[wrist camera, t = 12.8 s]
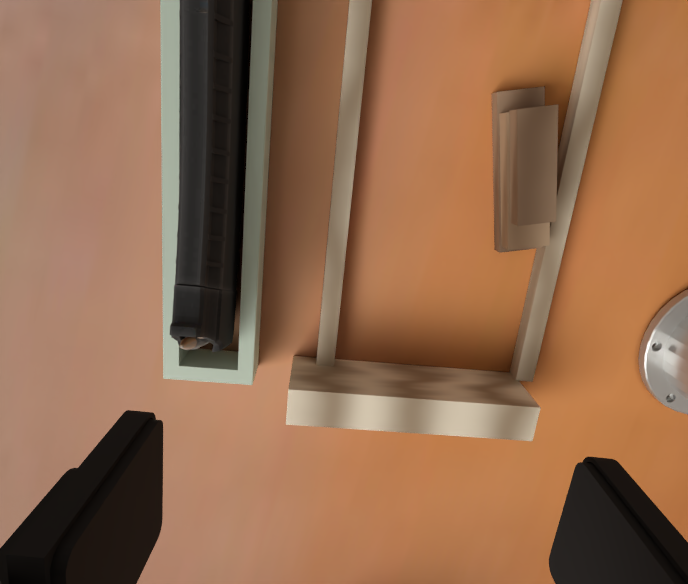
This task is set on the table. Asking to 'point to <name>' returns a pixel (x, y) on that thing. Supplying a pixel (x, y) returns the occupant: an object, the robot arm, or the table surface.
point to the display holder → (244, 362)
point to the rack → (426, 381)
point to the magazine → (210, 169)
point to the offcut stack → (524, 168)
